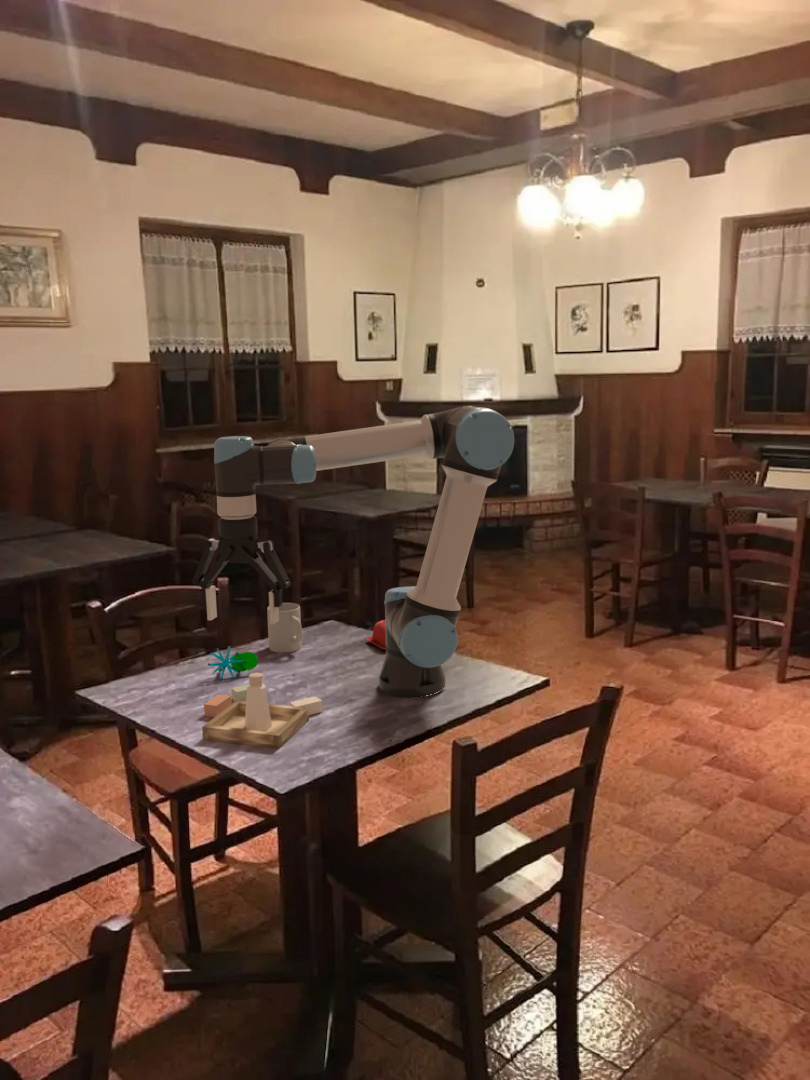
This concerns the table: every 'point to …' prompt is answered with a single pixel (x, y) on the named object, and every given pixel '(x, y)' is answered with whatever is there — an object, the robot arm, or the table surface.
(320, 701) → the cream brick
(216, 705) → the terracotta brick
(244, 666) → the stick construction toy
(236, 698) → the sage brick
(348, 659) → the table surface
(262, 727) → the pepper shaker
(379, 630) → the butter dish
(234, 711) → the oak tray
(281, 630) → the mug
